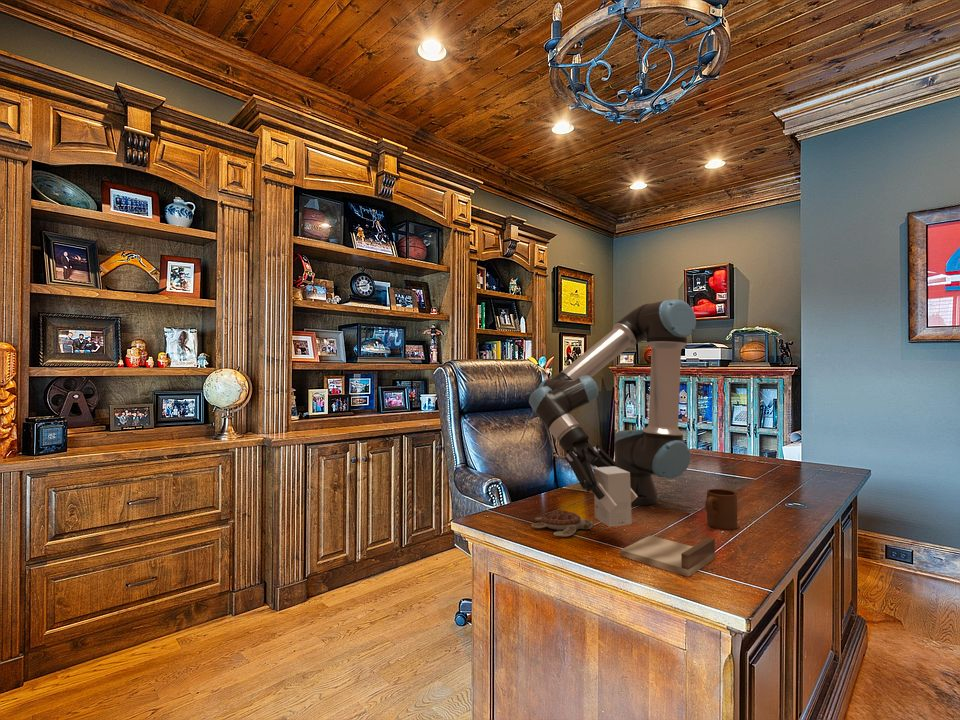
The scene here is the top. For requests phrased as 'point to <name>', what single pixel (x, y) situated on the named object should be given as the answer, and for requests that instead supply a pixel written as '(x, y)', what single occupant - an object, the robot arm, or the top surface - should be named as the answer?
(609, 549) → the top surface
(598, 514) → the small box
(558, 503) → the top surface
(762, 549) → the top surface
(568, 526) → the decorative turtle
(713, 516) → the mug
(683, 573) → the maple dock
